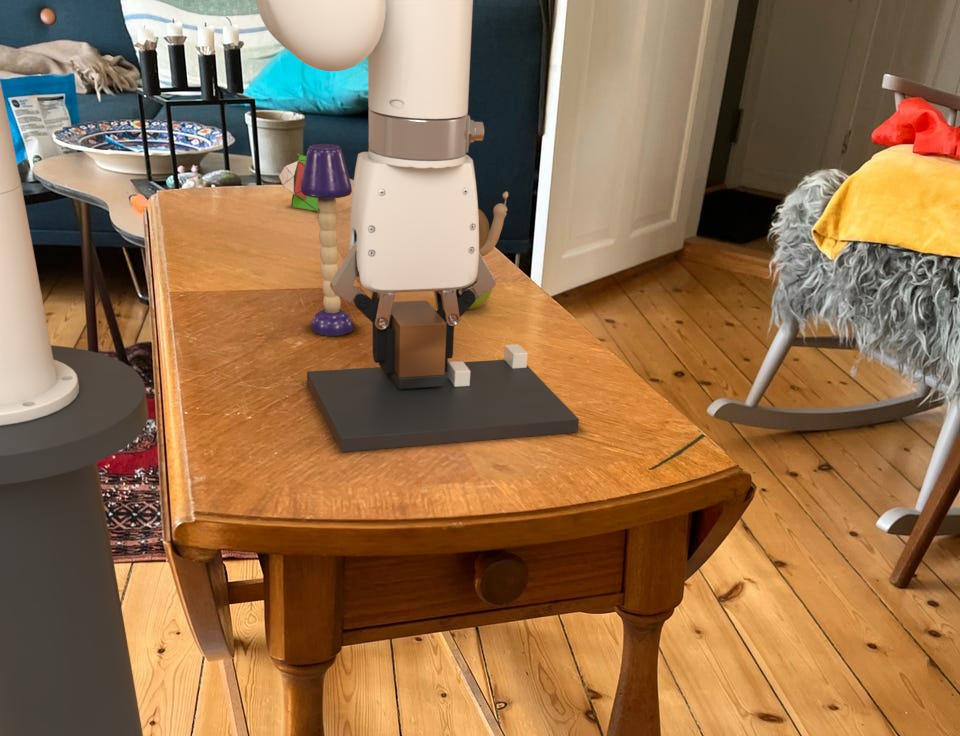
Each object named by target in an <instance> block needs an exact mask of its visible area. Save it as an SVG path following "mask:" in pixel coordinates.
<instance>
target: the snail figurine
mask: <svg viewBox="0 0 960 736" xmlns="http://www.w3.org/2000/svg"><path fill="white" fill-rule="evenodd" d="M508 197H509V192H508V191H504V192H503V193H502V199H504V203H501V202H500V203H497V204H496V205H495V206H494V207H493V210H492V211H493V220H492V221H491V222H492V223H491V225H490V222H489V220H488V218H487V216H486V214H485V213H484V212H483V211H482V210H481V209H480V208H478V215H479V252H480V254H481V256H482V257H484V256H486V255H488V254H490V253H491V252H492V251H493V250H494V248H495V247H496V245H497V244H498V241H499V239H500V237H501V236H500V235H501V232H502V230H503V226H504V221H505V218H506V217H507V212H508V207H507V199H508ZM490 226H491V227H490ZM486 265H487V267H488V268H489V270H490V272H491V274H492V271H491V269H490V267H489V265H488V264H487V263H486ZM492 275H493V274H492ZM456 290H457V289H456ZM492 291H493V288H492V289H491V290H489V291H488V292H487V293H485V294H484V295H483V296H481V297H480V298H477V299H476V300H475V302H474V303H473V304H472V305H471V306H470V307H469V308H468V309H467V310H473V309H476V308H478V307H481V306H482V305H483V304H484V303H486V301H487V300H488V299H489V298H490V296H491V293H492Z"/></svg>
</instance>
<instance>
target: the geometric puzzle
mask: <svg viewBox="0 0 960 736" xmlns="http://www.w3.org/2000/svg"><path fill="white" fill-rule="evenodd" d="M306 156H307V155H306V154H305V155H303V154H299V153H297V156H296V157H297V159H296V161H293V162H290V163H288V164H287V165H284V167H283V168H282V170H281V172H280V174H279V175H278V178H279V180H280V183H281V185H282V187H283V189H287V190H288V191H289V192H291V193H292V197H291V203H290V204H289V205H290V208H296V209H301V210H307V211H314V212H318V213H320V210H319V208H318V202H317V201H318V198H314V197H309V196H306V195H304V194H303V193H302V191H301V185H302V179H303V173H304V167H305V162H306Z"/></svg>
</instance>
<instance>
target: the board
mask: <svg viewBox="0 0 960 736" xmlns="http://www.w3.org/2000/svg"><path fill="white" fill-rule="evenodd" d="M463 362H464V363H465V365H466V366H467V367H468V369H469V370H470V386H460V387H454V385H453V384H452V382H451V381H450V379H449V378H448V367H447V372H445V374H444V386H439V387H425V388H410V389H399V388H398V387H397V385H396V384H395V382H394V381H393V379H392V378H391V376H390V375H387V376H386V374H385V373H384V371H383V370H382V368H381V367H380V366H376V367H360V368H359V367H358V368H343V369H328V370H309V371H306V384H307V386H308V389H309V391H310V392H311V394H312V396H313V398H314V401H315V402H316V404H317V407H318V408H319V411H320V412H321V414H322V416H323V419H324V420H325V422H326V424H327V427H328V429H329V430H330V432H331V435H332V437H333V439H334V440H335V443H336V445H337V446H338V449H339V451H340V452H341V453H347V452H361V451H362V452H363V451H373V450H384V449H385V450H386V449H396V448H408V447H409V448H411V447H420V446H421V447H422V446H433V445H444V444H445V445H446V444H457V443H467V442H479V441H480V442H481V441H491V440H504V439H513V438H527V437H538V436H549V435H550V436H551V435H552V436H553V435H563V434H564V435H565V434H573V433H574V434H575V433H578V432H579V430H578V429H579V423H580V418H579V417H577V415H576V414H575V413H574V412H573V411H572V410H571V409H570V408H569V407H568V406H567V405H566V404H565V403H564V402H563V401H562V399H560V398H559V397H558V396H557V394H556V393H554V391H553V390H552V389H551V388H550V387H548V385H547V384H546V383H545V382H544V380H542V379H541V378H540V377H539V376H538V375H537V374H536V373H535V371H533V370H532V369H531V368H530V367H529V365H527V367H526V368H514V369H513V368H512V367H511V366H510V365H509V364H508V363H507V362H506V361H505V360H504V359H492V360H490V359H489V360H474V361H473V360H472V361H463Z"/></svg>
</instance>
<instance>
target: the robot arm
mask: <svg viewBox="0 0 960 736" xmlns="http://www.w3.org/2000/svg"><path fill="white" fill-rule="evenodd" d="M255 3H256V7H257V10H258V14H259V16H260V18H261V20H262V22H263V24H264V26H265V28H266V30H267V31H268V32H269V33H270V34H271V36H272V37H273V38H274V39H275V40H276V41H277V42H278V44H280V45H281V46H282V47H283V48H284V49H286V50H288V51H289V52H290V53H291V54H292V55H293V56H294V57H295V58H297V59H298V60H299V61H301V62H302V63H304V64H305V65H306V66H309V67H311V68H313V69H316V70H318V71H319V70H320V71H324V72H341V71H346V70H349V69H351V68H354V67H357V65H359V64H360V63H362V62H363V61H365V60H366V59H367V66H368V67H367V70H368V71H367V72H368V73H367V75H368V78H367V79H368V81H367V89H368V90H367V91H368V93H367V94H368V96H367V99H368V100H367V101H368V102H367V103H368V104H367V106H368V111H367V113H368V151H362V152H361V151H360V152H359V153H358V154H357V157H356V163H355V168H354V175H353V183H352V192H351V202H350V204H351V205H350V216H349V217H350V218H349V219H350V220H349V233H348V234H349V238H348V253H347V255H346V256H345V258H344V259H343V261H342V263H341V264H340V266H339V269H338V271H337V273H336V274H335V276H334V278H333V279H332V281H331V283H330V287H331V289H332V290H333V292H334V293H335V294H336V295H337V296H339V297H340V299H342V300H344V301H345V302H346V303H349V304H350V305H352V306H354V307H356V308H357V309H358V310H359V311H360V313H361V314H363V315H364V317H366V318H367V319H368V320H369V321H370V322H371V323H372V358H373V361H374V362H375V364H376V363H377V364H378V365H379V367H381V368H382V370H383V371H384V373H385V374H386V376H387V375H393V373H394V372H395V331H394V329H393V328H392V326H391V320H390V317H391V312H392V307H393V302H395V297H396V293H415V292H419V293H420V292H433V293H434V300H435V306H436V310H435V311H436V312H437V313H438V314H439V315H440V316H441V318H442V319H443V320H444V321H445V322H446V324H447V325H446V349H445V372H447V367H448V362H449V359H452V358H453V356H454V338H455V326H457V325H458V324H459V322H460V320H461V317H463V315H464V314H465V313H466V312H467V311H468V310H469V309H468V308H469V307H470V306H471V305H472V304H473V303H474V302H475V300H476V299H477V298H480V297H481V296H483V295H484V294H485V293H487V292H488V291H489V290H491V289H492V290H493V289H494V288H495V286H496V279H495V278H494V275H493V274H491V273H492V271H491V269H490V267H489V266H488V267H489V268H488V267H487V265H488V264H487V263H486V262H485V259H484V257H483V256H481V254H480V252H479V215H478V209H479V201H478V200H479V199H478V190H477V189H478V188H477V180H476V171H475V165H474V160H473V158H471V157H470V155H468V154H467V153H469V147H470V145H471V144H472V143H474V142H482V141H483V140H484V137H485V125H484V122H483V121H475V120H474V119H472V118H471V116H470V115H469V114H468V112H469V111H468V110H469V96H470V95H469V93H470V92H469V91H470V72H471V71H470V70H471V49H472V28H473V11H474V10H473V7H474V0H255ZM27 213H28V212H27V208H26V202H25V198H24V193H23V187H22V182H21V177H20V172H19V166H18V161H17V157H16V151H15V146H14V141H13V135H12V130H11V125H10V121H9V116H8V111H7V106H6V101H5V98H4V92H3V88H2V83H1V81H0V426H4V425H11V424H18V423H22V422H27V421H31V420H35V419H38V418H42V417H45V416H48V415H50V414H52V413H55V412H57V411H59V410H61V409H63V408H64V407H66V406H68V405H69V404H70V403H71V402H72V401H73V400H74V399H75V398H76V396H77V395H78V393H79V383H78V378H77V374H76V373H75V372H74V370H73V369H72V368H70V367H69V366H67V365H66V364H64V363H61V362H59V361H57V360H53V354H52V349H51V345H52V344H51V338H50V332H49V328H48V323H47V315H46V312H45V305H44V301H43V295H42V289H41V284H40V279H39V274H38V268H37V262H36V258H35V251H34V246H33V241H32V235H31V231H30V230H31V229H30V224H29V219H28V214H27ZM486 264H487V265H486ZM489 269H490V270H489ZM490 271H491V272H490ZM357 278H359V281H360V285H361V286H362V287H363V289H365V290H367V291H369V292H370V297H369V296H368V295H367V294H366V292H365V291H363V290H362V289H359V288H358V287H356V286H355V285H354V284H355V281H356V280H357ZM456 289H457V290H456Z"/></svg>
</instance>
